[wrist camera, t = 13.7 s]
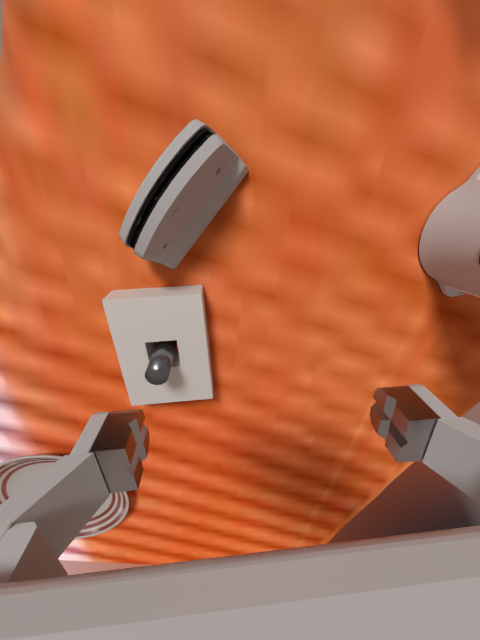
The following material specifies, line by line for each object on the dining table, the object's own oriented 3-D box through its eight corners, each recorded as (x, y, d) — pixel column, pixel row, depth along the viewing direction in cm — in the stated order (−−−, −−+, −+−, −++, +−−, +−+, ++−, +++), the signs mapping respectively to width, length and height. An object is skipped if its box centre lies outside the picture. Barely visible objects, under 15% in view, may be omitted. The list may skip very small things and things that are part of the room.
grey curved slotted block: (174, 270, 38) (135, 273, 29) (149, 248, 38) (102, 244, 29) (251, 168, 34) (235, 131, 24) (222, 143, 34) (195, 95, 24)
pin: (175, 332, 42) (166, 365, 34) (178, 348, 44) (170, 384, 36) (156, 333, 42) (142, 367, 34) (160, 350, 44) (147, 385, 35)
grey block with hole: (202, 284, 39) (201, 293, 36) (213, 382, 47) (213, 398, 44) (112, 290, 39) (101, 300, 35) (138, 389, 46) (131, 405, 43)
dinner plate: (143, 519, 62) (140, 535, 60) (21, 532, 61) (11, 550, 58) (116, 434, 51) (109, 449, 48) (-37, 448, 49) (-53, 464, 46)
